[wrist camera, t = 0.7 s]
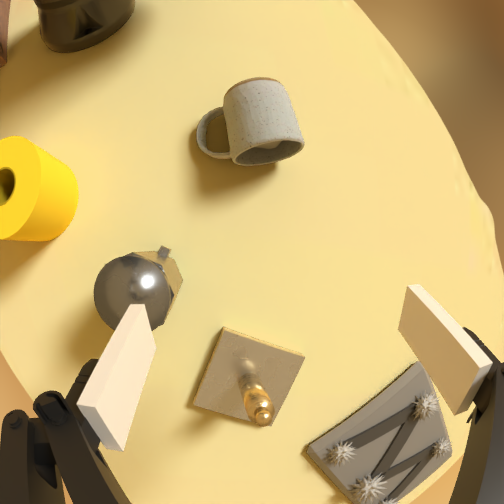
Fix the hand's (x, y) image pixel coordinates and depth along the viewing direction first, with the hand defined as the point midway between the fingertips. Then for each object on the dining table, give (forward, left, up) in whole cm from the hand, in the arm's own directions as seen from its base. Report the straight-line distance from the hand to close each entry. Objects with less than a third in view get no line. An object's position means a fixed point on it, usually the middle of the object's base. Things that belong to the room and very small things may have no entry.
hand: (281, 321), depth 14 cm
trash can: (+3, -8, -20) cm, 22 cm away
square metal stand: (+10, +6, -20) cm, 23 cm away
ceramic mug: (-15, -5, -20) cm, 26 cm away
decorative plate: (+18, +36, -20) cm, 45 cm away
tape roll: (0, -25, -20) cm, 32 cm away
